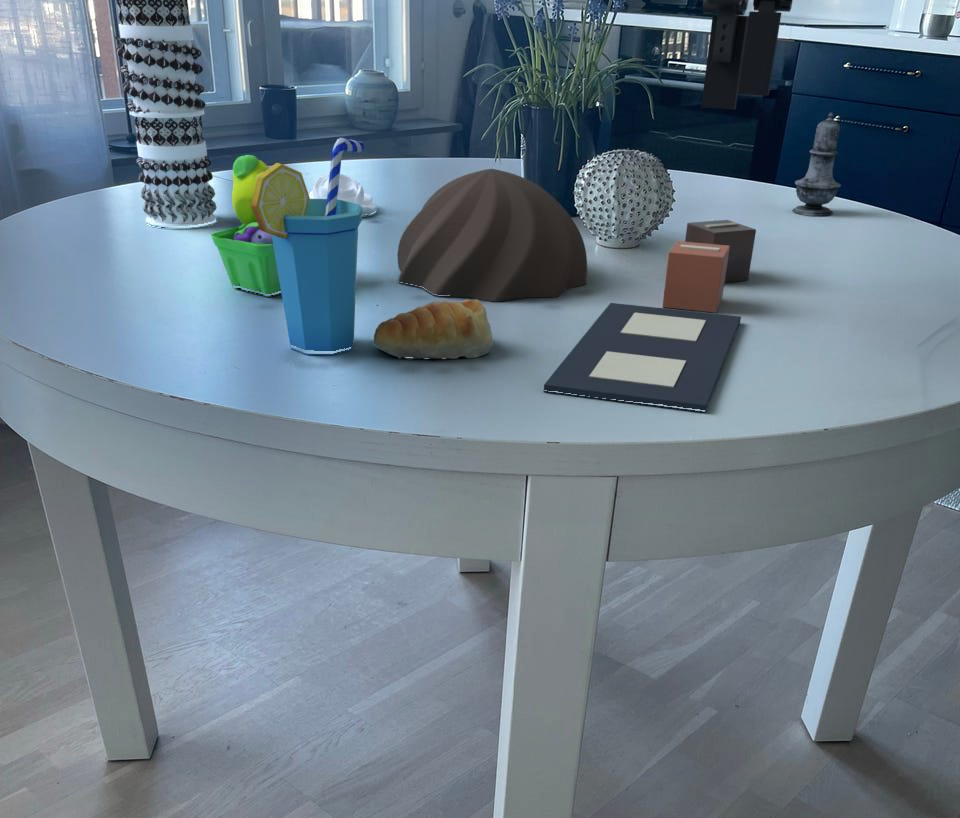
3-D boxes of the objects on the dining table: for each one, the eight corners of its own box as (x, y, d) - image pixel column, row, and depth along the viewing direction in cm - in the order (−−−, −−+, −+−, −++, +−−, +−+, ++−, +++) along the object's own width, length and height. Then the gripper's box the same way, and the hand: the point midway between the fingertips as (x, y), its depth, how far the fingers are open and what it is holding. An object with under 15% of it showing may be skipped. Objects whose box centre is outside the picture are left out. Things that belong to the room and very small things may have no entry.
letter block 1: (748, 280, 105) (756, 227, 102) (707, 284, 103) (715, 230, 100) (720, 269, 108) (727, 218, 106) (680, 272, 107) (687, 221, 104)
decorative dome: (373, 259, 109) (369, 157, 103) (544, 249, 115) (549, 152, 109) (424, 307, 94) (423, 190, 88) (618, 292, 99) (629, 182, 94)
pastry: (387, 368, 79) (386, 318, 77) (364, 343, 84) (362, 296, 82) (498, 356, 82) (500, 308, 80) (469, 333, 87) (469, 288, 85)
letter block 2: (721, 299, 98) (730, 243, 95) (715, 313, 94) (724, 255, 91) (670, 294, 99) (677, 239, 97) (662, 307, 95) (668, 250, 93)
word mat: (705, 413, 72) (706, 403, 72) (543, 392, 75) (543, 383, 75) (740, 323, 92) (741, 315, 91) (609, 309, 95) (610, 301, 94)
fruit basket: (267, 303, 94) (255, 170, 88) (204, 286, 98) (188, 158, 92) (352, 279, 102) (346, 156, 95) (290, 265, 106) (281, 146, 100)
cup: (328, 315, 91) (317, 129, 83) (406, 326, 89) (403, 136, 80) (241, 360, 80) (218, 151, 72) (327, 374, 78) (313, 160, 70)
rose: (331, 165, 133) (392, 172, 129) (333, 201, 135) (393, 210, 131) (282, 175, 126) (345, 183, 122) (285, 213, 128) (347, 223, 124)
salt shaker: (822, 218, 133) (842, 115, 126) (781, 211, 136) (799, 111, 129) (842, 212, 136) (863, 112, 130) (803, 206, 139) (820, 108, 133)
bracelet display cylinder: (126, 225, 120) (85, -26, 107) (169, 211, 128) (136, -26, 114) (193, 232, 118) (161, -24, 104) (234, 217, 125) (208, -24, 112)
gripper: (765, -191, 88) (727, 87, 99) (690, -240, 69) (654, 111, 80) (854, -194, 85) (804, 92, 97) (803, -245, 66) (749, 118, 78)
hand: (736, 101), depth 89 cm, fingers open, 13 cm apart
